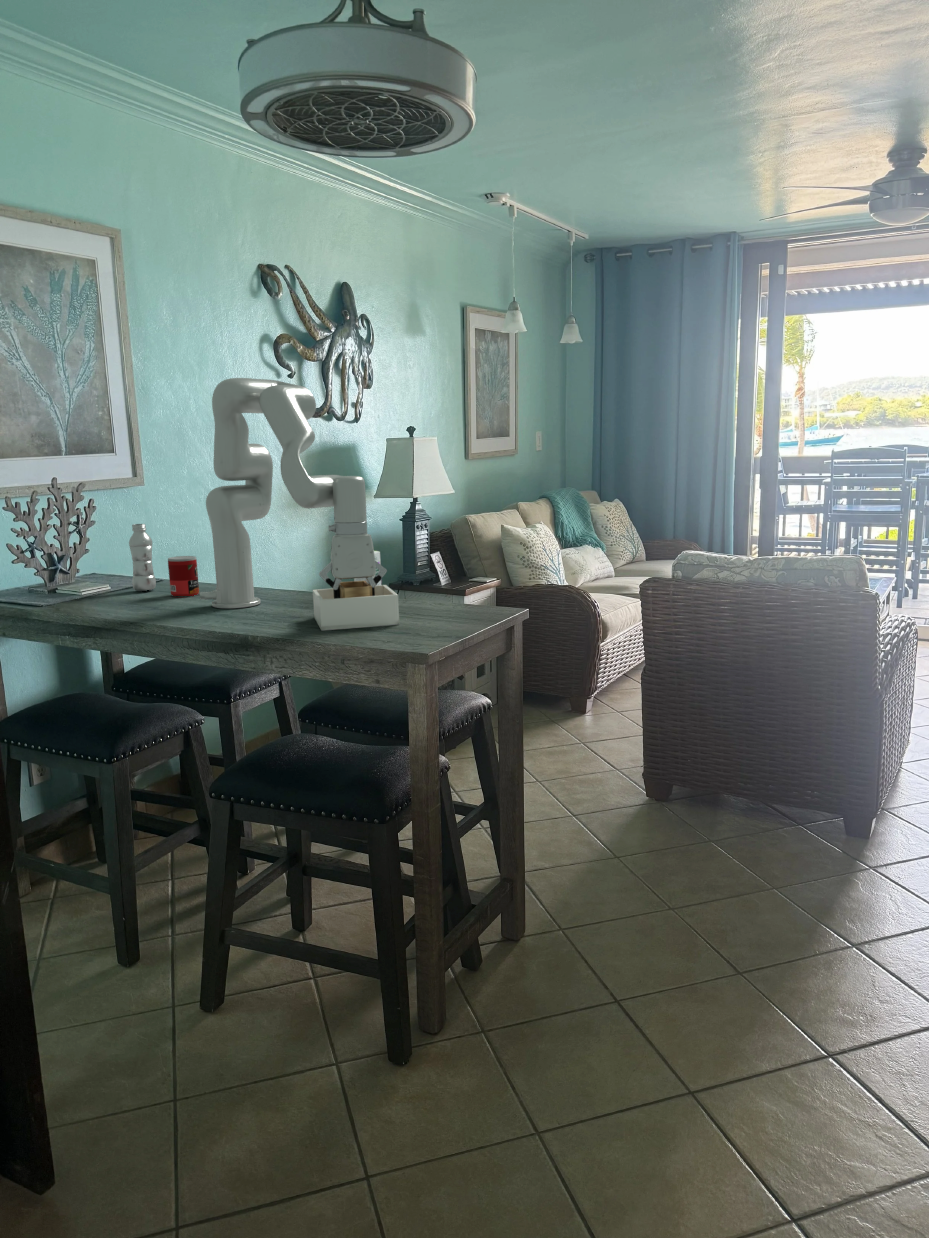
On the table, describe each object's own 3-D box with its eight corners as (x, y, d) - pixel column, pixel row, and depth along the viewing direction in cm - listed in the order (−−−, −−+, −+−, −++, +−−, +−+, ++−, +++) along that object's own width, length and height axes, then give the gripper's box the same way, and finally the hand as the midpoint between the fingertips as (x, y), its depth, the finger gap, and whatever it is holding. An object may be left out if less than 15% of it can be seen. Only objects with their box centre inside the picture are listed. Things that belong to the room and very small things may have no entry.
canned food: (194, 597, 252) (191, 558, 250) (167, 597, 252) (163, 559, 250) (203, 592, 259) (199, 555, 257) (176, 593, 259) (172, 556, 257)
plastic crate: (321, 630, 201) (319, 600, 200) (314, 617, 216) (312, 589, 215) (399, 624, 206) (398, 594, 204) (387, 612, 221) (385, 584, 219)
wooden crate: (343, 614, 205) (341, 588, 204) (337, 606, 214) (336, 582, 213) (373, 611, 207) (371, 586, 205) (366, 604, 216) (365, 580, 215)
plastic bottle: (132, 590, 266) (125, 524, 263) (156, 588, 269) (149, 522, 265) (133, 593, 261) (126, 525, 257) (157, 591, 263) (151, 524, 259)
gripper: (315, 532, 201) (319, 609, 204) (390, 529, 205) (393, 604, 209) (312, 529, 208) (316, 604, 212) (384, 526, 213) (387, 599, 216)
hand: (354, 603), depth 210 cm, fingers closed on wooden crate, 6 cm apart
